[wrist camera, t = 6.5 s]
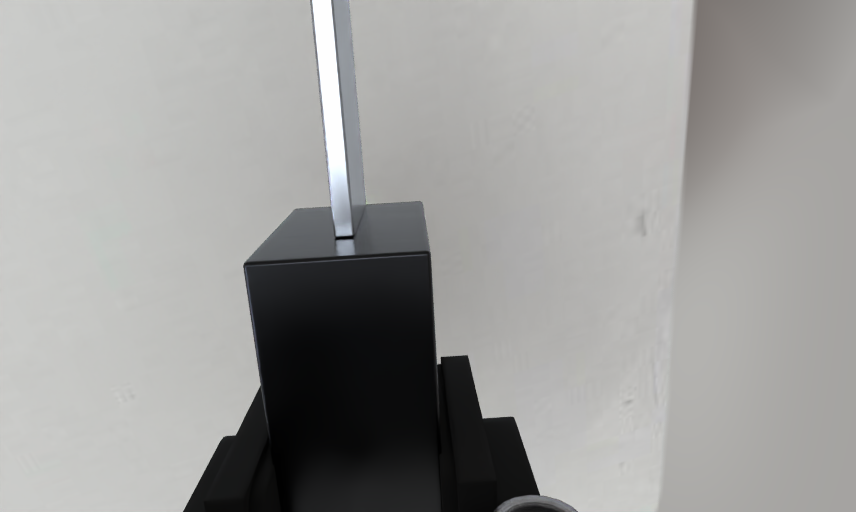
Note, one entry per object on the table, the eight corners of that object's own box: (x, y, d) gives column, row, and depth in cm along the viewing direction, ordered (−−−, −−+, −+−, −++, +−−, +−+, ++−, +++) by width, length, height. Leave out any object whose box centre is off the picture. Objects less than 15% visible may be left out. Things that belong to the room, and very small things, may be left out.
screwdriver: (445, 588, 13) (459, 762, 10) (340, 596, 13) (317, 774, 10) (381, -504, 8) (364, -942, 5) (209, -498, 8) (63, -935, 5)
